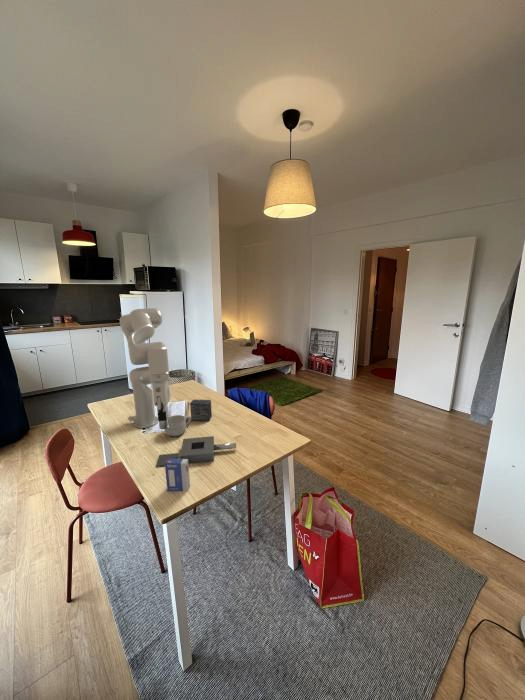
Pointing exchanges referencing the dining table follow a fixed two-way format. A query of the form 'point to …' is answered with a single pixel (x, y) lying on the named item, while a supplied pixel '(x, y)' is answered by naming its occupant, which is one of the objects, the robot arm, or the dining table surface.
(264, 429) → the dining table surface
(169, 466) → the walkman
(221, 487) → the dining table surface
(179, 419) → the teacup
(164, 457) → the rubber pad
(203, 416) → the small box
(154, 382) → the robot arm
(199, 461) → the block
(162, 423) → the silver copper cylinder
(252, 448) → the dining table surface
